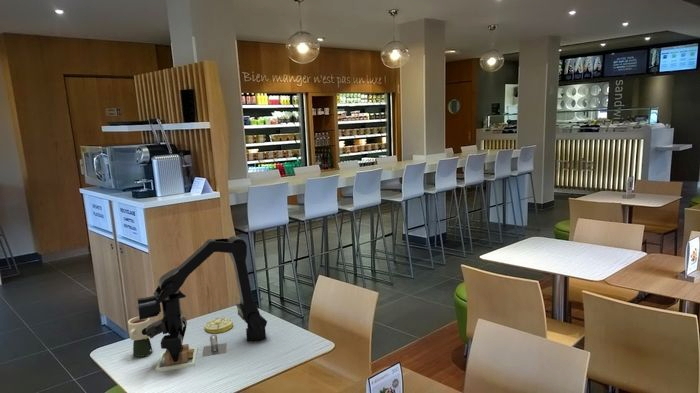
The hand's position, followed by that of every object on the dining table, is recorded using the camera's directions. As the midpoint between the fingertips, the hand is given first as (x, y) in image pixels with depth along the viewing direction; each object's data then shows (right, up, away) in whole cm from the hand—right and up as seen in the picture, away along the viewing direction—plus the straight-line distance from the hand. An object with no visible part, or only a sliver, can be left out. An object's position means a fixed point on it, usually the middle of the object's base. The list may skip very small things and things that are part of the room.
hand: (177, 355), depth 160 cm
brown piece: (0, -2, 0) cm, 2 cm away
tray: (0, -2, 0) cm, 2 cm away
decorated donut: (+7, +1, +25) cm, 26 cm away
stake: (+11, -1, +7) cm, 13 cm away
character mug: (-15, -2, +8) cm, 17 cm away
